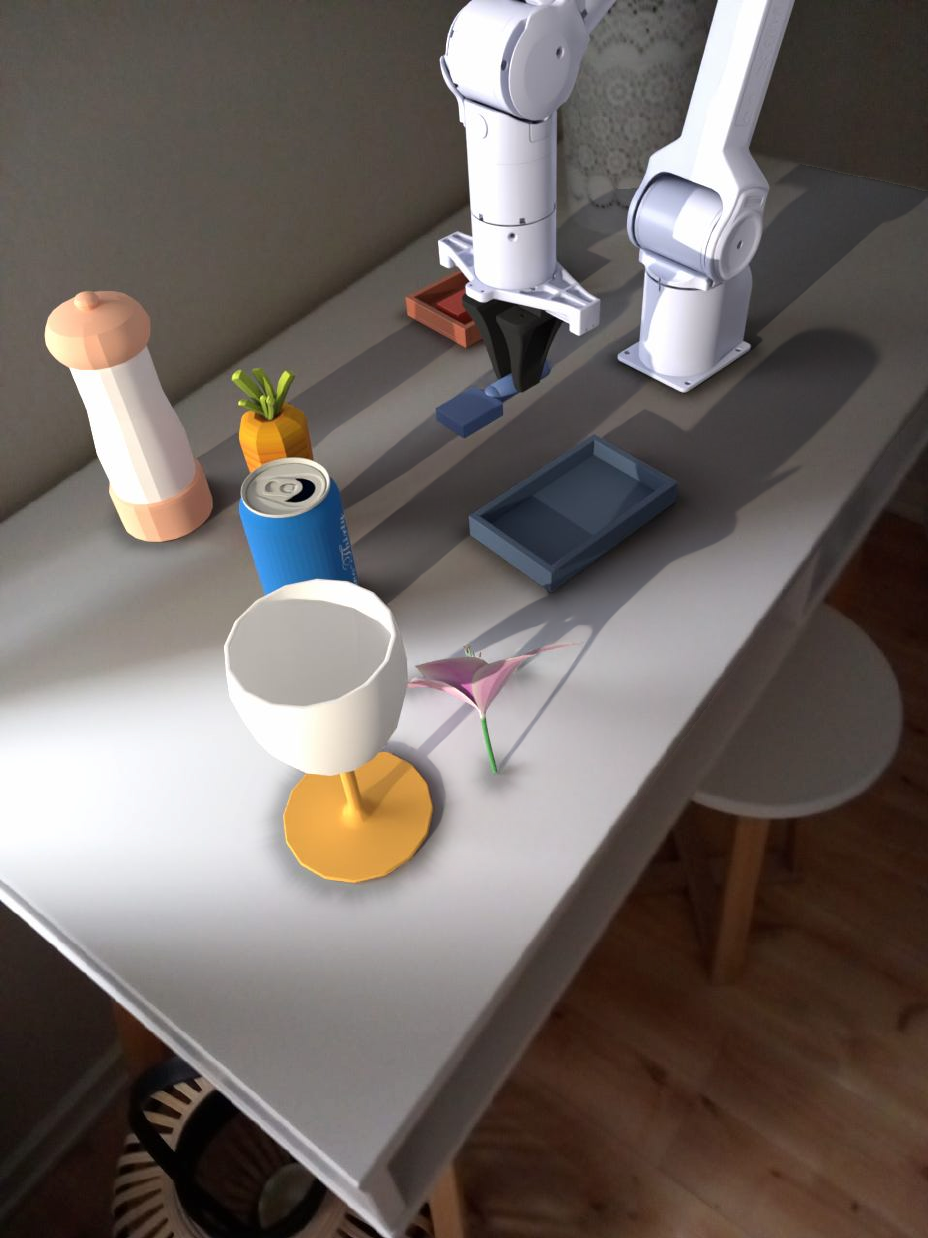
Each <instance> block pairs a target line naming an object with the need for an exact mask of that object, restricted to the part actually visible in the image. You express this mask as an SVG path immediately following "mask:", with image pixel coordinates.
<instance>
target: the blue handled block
mask: <svg viewBox="0 0 928 1238" xmlns="http://www.w3.org/2000/svg"><path fill="white" fill-rule="evenodd" d="M551 372H552V364H551V361H549V359H548V358H546V361H545V364H544V368H543V372H542V376H541V380H540V381H542V380H544V379H545V378H547V377H548V376H549V375H550V373H551ZM518 394H521V392H519V391H517V390H516V389H515V387H514V383H513V379H512V373H510V374H509V375H507V376H505V377H503V378H502V379H500V380H499V379H497V380H496V381H495V382H493V383H491V384H489V385H488V386H487V387H486V388H485V389H484V390H483V389H481V388H479V387H477V386H476V385H474V386H472V387H470V388H468V389H466V390H465V391H463V392H461V393H460V394H458V395H456V396H454V397H453V398H451V399H449V400H447V401H445V402H444V403H442V404H440V405H439V406H437V407H435V419H436V422H438V423H439V424H440V425H442V426H443V427H446V428H447V429H448V430H450V431H451V432H453V433H455V434H456V435H457V436H459V437H461V438H462V439H466V438H468V437H471V435H473V434H475V433H476V432H478V431H480V430H481V429H483V428H485V427H487V426H488V425H490V424H491V423H494V422H495V421H496V420H498V419H500V418H502V417H503V416H504V402H506V401H508V400H510V399H512V398H513V397H515V396H516V395H518Z"/></svg>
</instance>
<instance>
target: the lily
mask: <svg viewBox="0 0 928 1238" xmlns="http://www.w3.org/2000/svg"><path fill="white" fill-rule="evenodd" d="M580 644H583V642H582V641H577V642H575V641H574V642H573V641H572V642H562V643H561V642H560V643H554V644H548V645H544V646H540V647H536V648H534V649H532V650H530V651H528V652H526V653H524V654H522V655H520V656H514V657H508V658H505V659H499V660H496V661H493V662H490V663H488V661H486V660H485V659H484V658H483V659H482V658H481V657H482V651H479V654H478V656H477V657H476V656H475V652H474V651H471V646H470V645H467V647H466V646H465V645H463V649H464V651H465V655H466V656H455V657H448V658H442V659H437V660H432V661H429V662H424V663H420V664H416V665H414V667H415V668H416V669H417V670H418V672H419V673H420V674H421V675H422V676H423V677H421V676H419V677H413V678H412V679H411V680H410V682H409V681H408V685H407V688H408V689H410V688H430V689H436V690H438V691H441V692H442V691H443V692H444V693H447V694H450V695H452V696H454V697H456V698H458V699H460V700H461V701H463V702H465V703H466V704H469V705H471V707H473V708H475V709H476V710H477V711H478V713H479V717H480V722H481V727H482V732H483V737H484V742H485V746H486V749H487V755H488V758H489V763H490V767H491V771H492V774H497V773H498V767H497V764H496V759H495V756H494V755H495V754H494V752H493V751H494V750H493V747H492V743H491V739H490V734H489V729H488V722H487V716H486V715H487V710H488V708H489V707H490V706H491V704H492V702H493V701H494V700H495V698H496V697H497V696H498V695H499V693H500V692H501V690H502V689H504V687H505V686H506V684H507V682H508V681H509V680H510V679H511V677H512V676H513V674H515V673H517V672H518V669H519V667H520V665H522V663H524V662H525V661H526V660H527V659H529V658H531V657H534V656H538V655H539V654H540V653H541V652H545V651H546V652H547V651H551V650H554V649H559V648H564V647H570V646H574V645H575V646H576V645H580Z"/></svg>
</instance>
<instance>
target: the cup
mask: <svg viewBox="0 0 928 1238" xmlns="http://www.w3.org/2000/svg"><path fill="white" fill-rule="evenodd" d="M402 637H403V636H402V633H401V631H400V628H399V626H398V624H397V621H396V619H395V616H394V613H393V611H392V610H391V609H390V608H389V607H388V606H387V605H386V604H385V603H384V601H383V600H382V599H381V598H380V597H379V596H378V595H377V594H376V593H375V592H374V591H372V590H369V589H367V588H364V587H362V586H360V585H359V586H358V585H355V584H353V583H351V582H348V581H337V580H324V579H314V580H309V581H304V582H300V583H295V584H290V585H285V586H283V587H281V588H279V589H277V590H275V591H274V592H272V593H270V594H268V595H266V596H265V595H264V596H262V597H260V598H258V599H256V600H255V601H254V602H253V603H252V604H251V605H249V607H248V608H247V609H246V610H245V611H244V612H243V613H242V614H241V615H240V616H239V617H238V618H237V619H236V620H235V621H234V623H233V626H232V628H231V631H230V633H229V635H228V637H227V639H226V641H225V644H224V646H223V648H224V659H225V660H224V661H225V673H226V680H227V686H228V687H227V688H228V692H229V693H228V694H229V698H230V700H231V702H232V703H233V705H234V707H235V709H236V711H237V713H238V714H239V716H240V718H241V720H242V721H243V722H244V724H245V725H246V727H247V728H248V730H249V731H250V733H251V734H252V735H253V737H254V739H255V740H256V741H257V742H258V743H259V744H260V745H261V746H262V747H263V748H264V749H265V750H266V751H267V752H268V753H269V754H270V755H271V756H272V757H274V758H276V759H278V760H279V761H281V762H283V763H285V764H287V765H289V766H291V767H293V768H294V769H297V770H298V771H301V772H303V773H305V775H303V777H302V778H301V779H300V781H299V782H298V783H297V784H296V785H295V787H294V788H293V789H292V790H291V791H290V794H289V798H288V800H287V804H286V807H285V810H284V813H283V815H282V819H283V827H284V835H285V843H286V844H287V846H288V847H289V849H290V850H291V852H292V854H293V855H294V856H295V859H296V860H297V861H298V863H299V864H300V866H301V867H304V868H305V869H307V870H309V871H311V872H312V873H313V874H316V875H317V876H319V877H320V878H322V879H324V880H330V881H336V882H337V881H339V882H343V883H345V882H346V883H353V884H356V883H360V882H364V881H369V880H373V879H377V878H382V877H385V876H387V875H389V874H390V873H391V872H394V871H395V870H396V869H398V868H399V867H401V866H402V865H404V864H406V863H407V862H408V861H410V860H411V859H412V858H413V857H414V855H415V854H416V853H417V851H418V850H419V849H420V847H421V845H423V843H424V841H425V840H426V839H427V837H428V836H429V831H430V828H431V824H432V823H431V822H432V818H433V813H434V805H433V801H432V797H431V793H430V789H429V784H428V782H427V781H426V779H425V778H424V777H423V776H422V774H421V773H420V772H419V771H418V769H416V767H415V766H414V765H413V764H412V763H410V762H409V761H406V760H404V759H402V758H400V756H397V755H395V754H393V753H391V752H389V751H382V749H383V748H384V747H385V745H386V744H387V743H388V742H389V741H390V739H391V737H392V736H393V734H394V733H395V731H396V730H397V729H398V726H399V721H400V717H401V713H402V710H403V706H404V703H405V698H406V693H407V685H408V683H409V673H408V657H407V653H406V649H405V645H404V640H403V638H402Z"/></svg>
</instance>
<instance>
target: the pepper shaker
mask: <svg viewBox="0 0 928 1238" xmlns="http://www.w3.org/2000/svg"><path fill="white" fill-rule="evenodd" d="M44 339H45V341H44V342H45V345H46V347H47V350H48V351H49V353H50V354H51V355H52V356H53V358H55V360H57V361H58V362H59V363H60V364H62V365H64V366H66V367H67V368H69V370H70V372H71V375H72V378H73V380H74V382H75V384H76V387H77V390H78V393H79V395H80V397H81V399H82V401H83V402H82V403H83V404H84V406H85V409H86V411H87V412H86V413H87V416H88V421H89V425H90V429H91V433H92V434H91V435H92V438H93V442H94V447H95V450H96V451H95V452H96V455H97V457H98V459H99V461H100V464H101V465H102V467H103V470H104V472H105V474H106V476H107V478H108V480H109V490H108V491H109V492H108V493H109V496H110V497H111V500H112V503H113V505H114V507H115V509H116V511H117V514H118V516H119V518H120V521H121V522H122V523H121V524H122V525H123V527H124V528H125V530H126V532H127V533H128V534H129V535H131V537H134V538H135V539H138V540H141V541H144V542H153V543H154V542H155V543H156V542H157V543H158V542H159V543H162V542H167V541H172V540H177V539H179V538H182V537H184V536H186V535H189V534H191V533H193V531H196V530H197V529H198V528H200V527H201V526H202V525H203V524H204V523H205V522H206V521H207V520H208V518H209V517H210V516H211V513H212V510H213V508H214V505H213V504H214V503H213V496H212V493H211V490H210V487H209V484H208V480H207V477H206V475H205V473H204V469H203V466H202V465H201V463H200V462H199V460H198V459H197V458H196V457H195V456H194V455H193V452H192V449H191V445H190V443H189V442H190V441H189V439H188V435H187V432H186V429H185V427H184V425H183V423H182V422H181V421H180V418H179V416H178V415H177V413H176V411H175V409H174V407H173V406H172V403H170V400H169V399H168V397H167V395H166V393H165V391H164V390H163V387H162V383H161V381H160V378H159V376H158V373H157V370H156V367H155V365H154V362H153V359H152V356H151V353H150V351H149V348H148V343H149V342H150V339H151V317H150V316H149V315H148V313H147V312H146V310H145V309H144V307H143V306H142V305H141V303H140V302H139V301H137V300H135V299H134V298H133V297H132V296H130V295H128V294H126V293H125V292H120V291H115V290H98V291H92V290H85V291H81V292H79V293H77V294H76V295H75V296H74V297H72V298H70V299H68V300H66V301H64V302H62V303H61V304H59V305H58V306H57V307H56V308H54V309H53V310H52V312H51V313H50V314H49V316H48V317H47V321H46V325H45V331H44Z"/></svg>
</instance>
